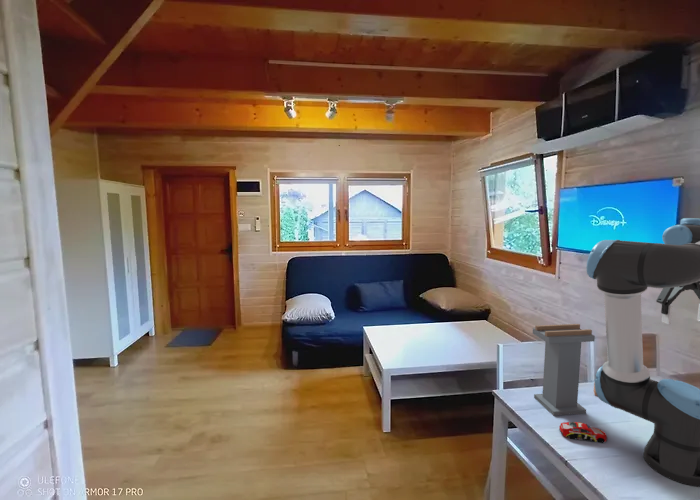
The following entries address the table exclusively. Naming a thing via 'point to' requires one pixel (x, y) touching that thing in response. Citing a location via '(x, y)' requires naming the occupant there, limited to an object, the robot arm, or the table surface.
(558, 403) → the stand
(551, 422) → the table surface
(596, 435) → the race car
